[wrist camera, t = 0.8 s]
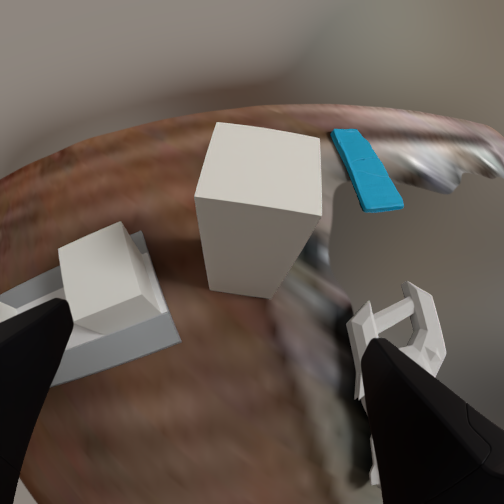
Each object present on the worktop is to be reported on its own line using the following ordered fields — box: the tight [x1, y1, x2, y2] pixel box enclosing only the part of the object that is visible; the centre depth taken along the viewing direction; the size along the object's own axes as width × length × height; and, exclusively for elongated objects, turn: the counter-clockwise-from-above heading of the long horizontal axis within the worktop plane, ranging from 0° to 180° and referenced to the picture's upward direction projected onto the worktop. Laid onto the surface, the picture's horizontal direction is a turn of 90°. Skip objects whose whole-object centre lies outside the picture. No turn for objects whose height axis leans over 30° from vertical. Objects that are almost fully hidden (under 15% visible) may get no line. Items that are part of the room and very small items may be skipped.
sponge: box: [330, 129, 404, 213], centre depth 30 cm, size 2×12×6 cm
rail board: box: [0, 221, 182, 387], centre depth 17 cm, size 10×20×7 cm, turn 115°
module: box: [194, 122, 322, 299], centre depth 18 cm, size 5×5×13 cm
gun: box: [346, 281, 446, 489], centre depth 19 cm, size 18×4×10 cm
